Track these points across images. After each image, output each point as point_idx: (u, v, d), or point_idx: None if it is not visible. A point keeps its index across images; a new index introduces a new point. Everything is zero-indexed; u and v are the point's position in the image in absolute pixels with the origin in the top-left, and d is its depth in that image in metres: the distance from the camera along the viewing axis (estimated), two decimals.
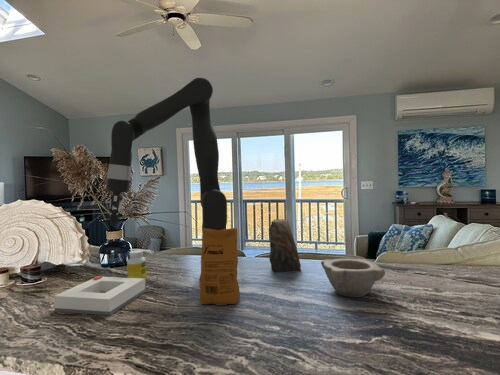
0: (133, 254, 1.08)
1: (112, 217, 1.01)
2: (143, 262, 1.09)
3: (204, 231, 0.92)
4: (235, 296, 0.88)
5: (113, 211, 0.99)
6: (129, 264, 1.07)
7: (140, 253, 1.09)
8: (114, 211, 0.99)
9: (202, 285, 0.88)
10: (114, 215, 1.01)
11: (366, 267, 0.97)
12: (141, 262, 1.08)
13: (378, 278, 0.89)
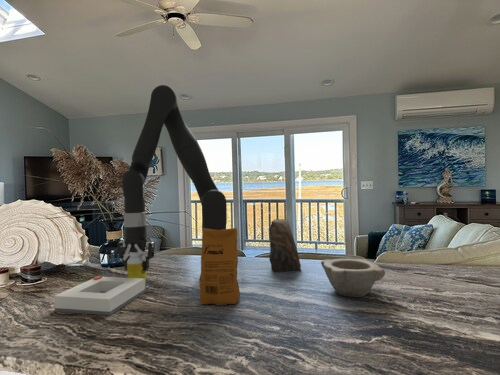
0: (133, 254, 1.08)
1: (147, 262, 1.09)
2: None
3: (204, 231, 0.92)
4: (235, 296, 0.88)
5: (152, 257, 1.09)
6: (129, 264, 1.07)
7: None
8: (152, 256, 1.09)
9: (202, 285, 0.88)
10: (147, 260, 1.09)
11: (366, 267, 0.97)
12: (141, 262, 1.08)
13: (378, 278, 0.89)
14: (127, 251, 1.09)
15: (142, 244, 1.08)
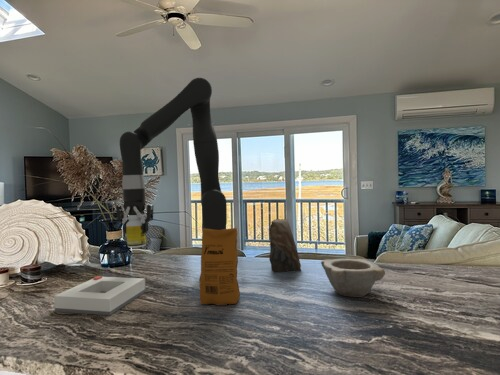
0: (132, 217, 1.07)
1: (146, 225, 1.09)
2: None
3: (204, 231, 0.92)
4: (235, 296, 0.88)
5: (151, 219, 1.08)
6: (128, 226, 1.07)
7: None
8: (151, 219, 1.09)
9: (202, 285, 0.88)
10: (147, 223, 1.09)
11: (366, 267, 0.97)
12: (140, 225, 1.08)
13: (378, 278, 0.89)
14: (126, 214, 1.09)
15: (141, 206, 1.08)
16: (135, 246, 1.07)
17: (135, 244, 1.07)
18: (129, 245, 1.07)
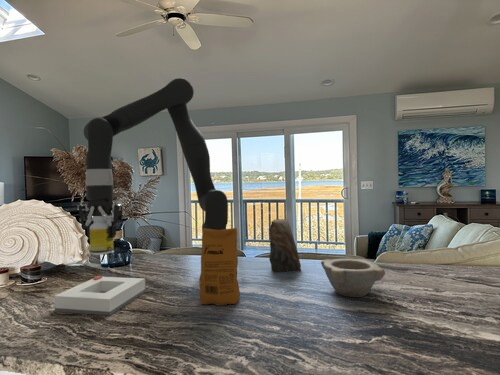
0: (96, 218, 0.91)
1: (113, 228, 0.92)
2: None
3: (204, 231, 0.92)
4: (235, 296, 0.88)
5: (119, 221, 0.92)
6: (91, 229, 0.91)
7: None
8: (119, 221, 0.92)
9: (202, 285, 0.88)
10: (114, 226, 0.93)
11: (366, 267, 0.97)
12: (106, 228, 0.91)
13: (378, 278, 0.88)
14: (90, 215, 0.92)
15: (107, 206, 0.92)
16: (99, 253, 0.90)
17: (100, 250, 0.90)
18: (92, 251, 0.91)
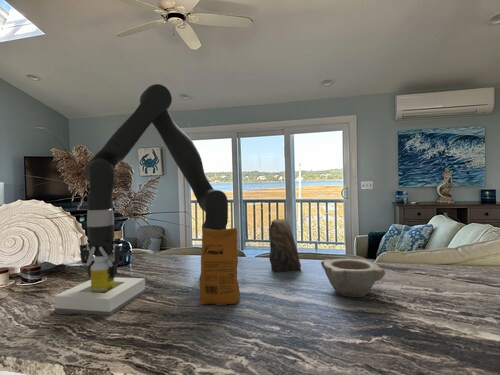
0: (97, 259, 0.91)
1: (114, 268, 0.92)
2: None
3: (204, 231, 0.92)
4: (235, 296, 0.88)
5: (120, 262, 0.92)
6: (92, 270, 0.91)
7: None
8: (120, 261, 0.92)
9: (202, 285, 0.88)
10: (115, 266, 0.93)
11: (366, 267, 0.97)
12: (107, 268, 0.92)
13: (378, 278, 0.88)
14: (91, 255, 0.92)
15: (108, 247, 0.92)
16: None
17: (101, 291, 0.91)
18: (93, 292, 0.91)
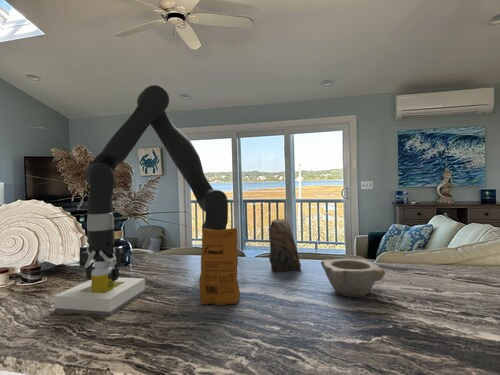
0: (98, 264, 0.91)
1: (116, 271, 0.92)
2: (110, 273, 0.92)
3: (204, 231, 0.92)
4: (235, 296, 0.88)
5: (122, 264, 0.92)
6: (93, 276, 0.91)
7: None
8: (122, 264, 0.92)
9: (202, 285, 0.88)
10: (117, 268, 0.93)
11: (366, 267, 0.97)
12: (108, 274, 0.92)
13: (378, 278, 0.88)
14: (90, 258, 0.92)
15: (108, 251, 0.92)
16: None
17: None
18: None
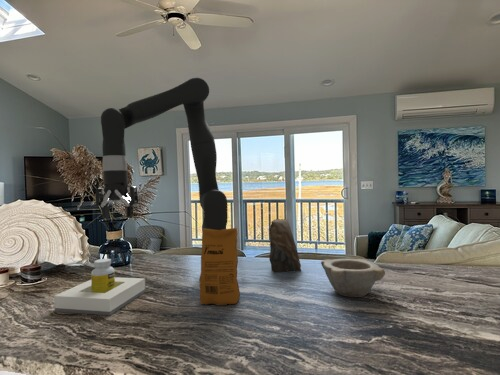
0: (98, 264, 0.91)
1: (131, 208, 1.00)
2: (110, 273, 0.92)
3: (204, 231, 0.92)
4: (235, 296, 0.88)
5: (136, 202, 1.00)
6: (93, 276, 0.91)
7: (107, 262, 0.92)
8: (136, 202, 1.00)
9: (202, 285, 0.88)
10: (132, 206, 1.01)
11: (366, 267, 0.97)
12: (108, 274, 0.92)
13: (378, 278, 0.88)
14: (106, 197, 1.00)
15: (123, 190, 1.00)
16: None
17: None
18: None
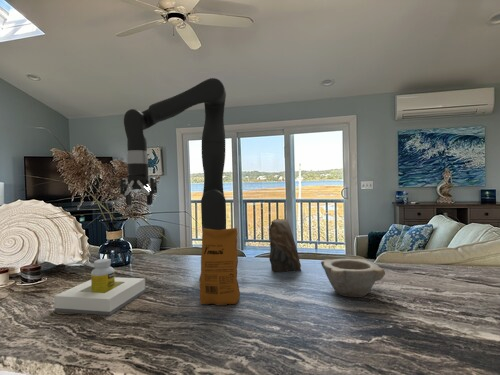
0: (98, 264, 0.91)
1: (150, 197, 1.15)
2: (110, 273, 0.92)
3: (204, 231, 0.92)
4: (235, 296, 0.88)
5: (155, 191, 1.14)
6: (93, 276, 0.91)
7: (107, 263, 0.92)
8: (155, 191, 1.15)
9: (202, 285, 0.88)
10: (151, 195, 1.15)
11: (366, 267, 0.97)
12: (108, 274, 0.92)
13: (378, 278, 0.88)
14: (129, 187, 1.15)
15: (144, 180, 1.14)
16: None
17: None
18: None
